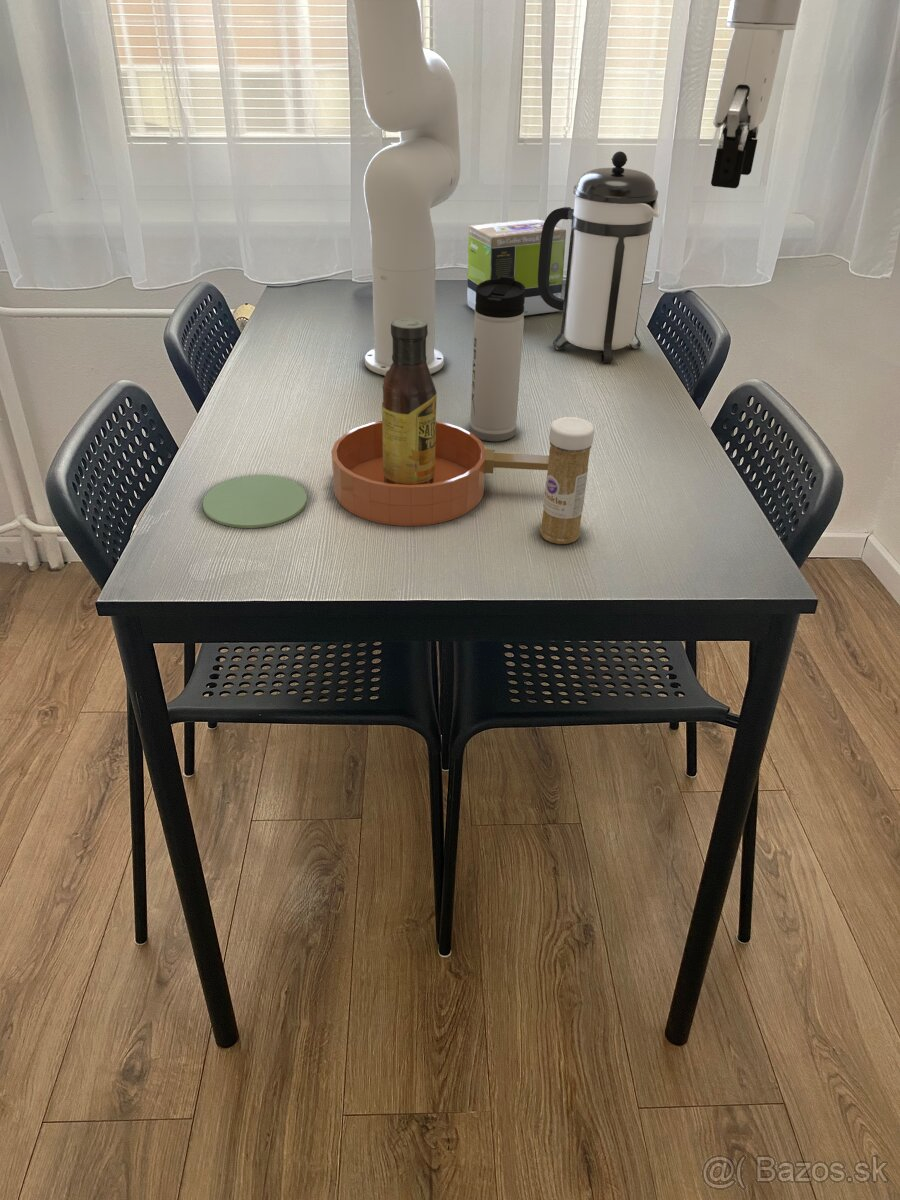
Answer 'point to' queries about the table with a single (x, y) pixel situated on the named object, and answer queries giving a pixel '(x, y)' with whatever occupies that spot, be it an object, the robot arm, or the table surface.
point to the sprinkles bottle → (566, 479)
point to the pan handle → (514, 461)
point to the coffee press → (602, 257)
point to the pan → (408, 504)
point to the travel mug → (496, 358)
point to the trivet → (254, 501)
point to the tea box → (514, 259)
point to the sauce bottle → (409, 408)
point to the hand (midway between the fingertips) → (731, 180)
